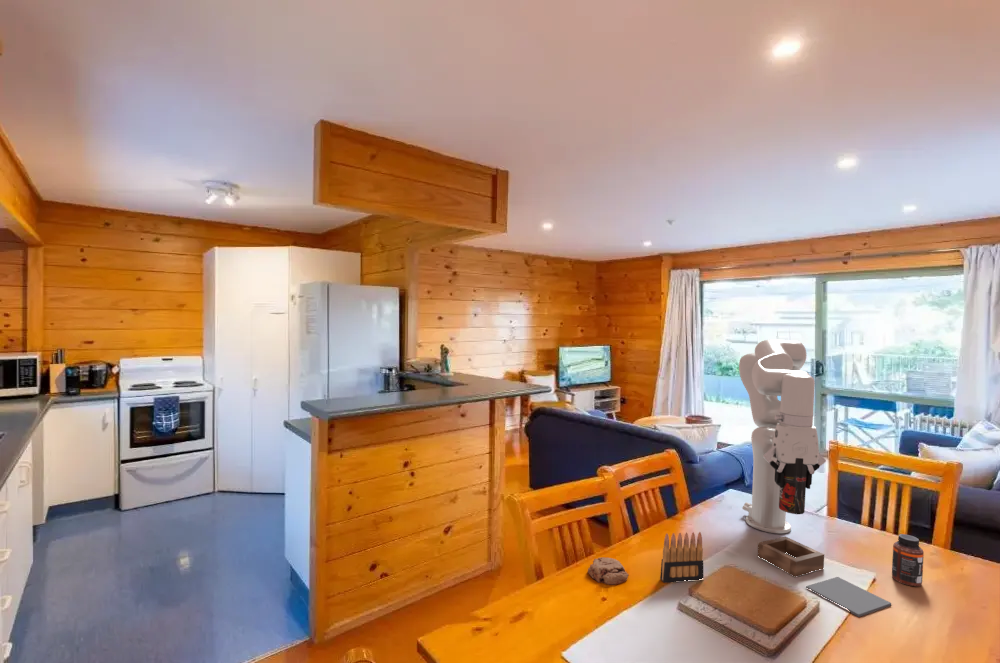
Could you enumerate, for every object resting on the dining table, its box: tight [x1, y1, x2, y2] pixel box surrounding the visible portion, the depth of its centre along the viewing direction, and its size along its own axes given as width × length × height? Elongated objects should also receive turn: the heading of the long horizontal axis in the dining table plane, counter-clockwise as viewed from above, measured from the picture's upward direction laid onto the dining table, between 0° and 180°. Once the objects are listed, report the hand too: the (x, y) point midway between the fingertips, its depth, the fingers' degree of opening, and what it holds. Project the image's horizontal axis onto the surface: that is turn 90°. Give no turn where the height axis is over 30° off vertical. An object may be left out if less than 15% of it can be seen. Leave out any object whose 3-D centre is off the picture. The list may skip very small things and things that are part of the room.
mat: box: [805, 576, 892, 618], centre depth 115 cm, size 12×12×1 cm
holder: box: [756, 536, 825, 578], centre depth 130 cm, size 11×11×4 cm
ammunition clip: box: [659, 531, 704, 584], centre depth 120 cm, size 11×2×12 cm, turn 98°
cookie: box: [587, 557, 629, 586], centre depth 123 cm, size 10×11×3 cm
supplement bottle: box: [891, 533, 925, 587], centre depth 122 cm, size 6×6×11 cm
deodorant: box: [779, 458, 807, 515], centre depth 130 cm, size 6×6×15 cm
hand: (792, 485), depth 130 cm, fingers closed on deodorant, 6 cm apart
